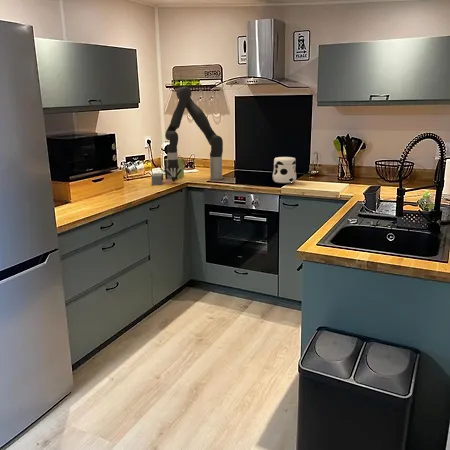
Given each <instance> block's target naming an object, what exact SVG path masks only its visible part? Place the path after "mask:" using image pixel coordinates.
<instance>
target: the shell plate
mask: <svg viewBox="0 0 450 450" xmlns="http://www.w3.org/2000/svg"><path fill="white" fill-rule="evenodd" d="M173 183H174V182H173V181H172V179H164V180H162V185H172V184H173Z"/></svg>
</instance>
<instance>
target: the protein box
mask: <svg viewBox="0 0 450 450" xmlns="http://www.w3.org/2000/svg"><path fill="white" fill-rule="evenodd" d="M163 163H164V177H165V178H164V180H166V179H172V177H171V176H169V175H168V174H167V173H166V171H165V169H167V167H168V158H165V159H164V162H163ZM178 166H179V168H180V169H182V171H181V172H180V173H179V175H178V176H176V181H179V180H180V179H182V178H183V177H185V170H184V169H185V167H184V166H185V165H184V157H183V156H178ZM178 170H179V169H178ZM178 170H177V172H176V174H177V173H178V172H179V171H178ZM168 171H169V169H168ZM169 173H170V174H171V172H170V171H169ZM173 175H174V172H173Z"/></svg>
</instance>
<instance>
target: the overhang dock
mask: <svg viewBox="0 0 450 450" xmlns="http://www.w3.org/2000/svg"><path fill="white" fill-rule="evenodd" d="M150 178H151V185H152V186H159V185H160V186H162V185H163V184H162V180H165V178H164V173H163V172H155V173H153V174H152V175H151V177H150Z"/></svg>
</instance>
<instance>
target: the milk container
mask: <svg viewBox="0 0 450 450" xmlns="http://www.w3.org/2000/svg"><path fill="white" fill-rule="evenodd" d="M296 162H297V161H296V157H292V156H278V157H275V158H274V159H273V173H272V181H273V182H274V183H276V184H280V185H287V184H288V183H290V184H292V183H291V182H294V181H295V182H296V180H297V172H296V166H297V165H296ZM295 182H294V183H295ZM288 185H289V184H288Z"/></svg>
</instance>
